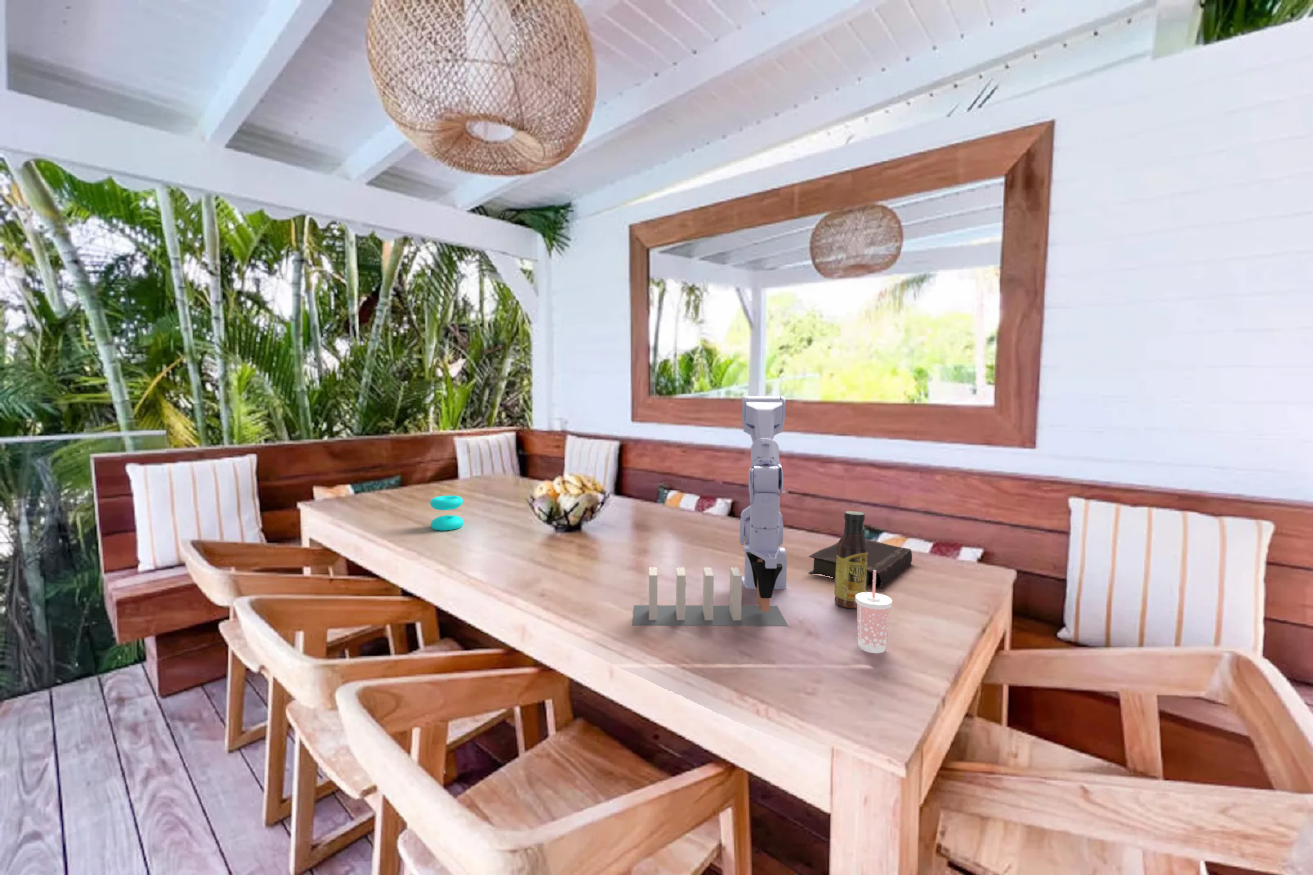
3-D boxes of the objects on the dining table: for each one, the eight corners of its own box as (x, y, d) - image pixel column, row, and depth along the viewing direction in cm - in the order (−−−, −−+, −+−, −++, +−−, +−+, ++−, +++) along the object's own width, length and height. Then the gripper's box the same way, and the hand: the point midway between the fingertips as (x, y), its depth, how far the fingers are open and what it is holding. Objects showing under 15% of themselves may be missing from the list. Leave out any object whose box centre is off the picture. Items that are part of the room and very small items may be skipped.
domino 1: (656, 610, 116) (657, 567, 116) (657, 620, 111) (657, 575, 111) (649, 610, 116) (649, 567, 116) (648, 620, 111) (649, 575, 111)
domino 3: (710, 610, 116) (711, 567, 116) (713, 620, 111) (713, 575, 111) (702, 610, 116) (703, 567, 116) (704, 620, 111) (705, 575, 111)
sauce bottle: (849, 612, 117) (853, 517, 115) (827, 602, 122) (830, 511, 120) (872, 606, 120) (876, 514, 118) (849, 597, 125) (853, 508, 124)
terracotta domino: (761, 611, 111) (762, 566, 110) (756, 602, 116) (757, 559, 115) (769, 611, 111) (770, 566, 110) (764, 601, 116) (765, 559, 115)
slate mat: (777, 607, 119) (777, 605, 119) (788, 627, 109) (788, 625, 109) (634, 607, 119) (634, 605, 119) (632, 627, 109) (632, 625, 109)
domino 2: (683, 610, 116) (684, 567, 116) (685, 620, 111) (685, 575, 111) (675, 610, 116) (676, 567, 116) (676, 620, 111) (677, 575, 111)
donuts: (445, 493, 190) (469, 495, 186) (445, 523, 191) (470, 525, 187) (423, 499, 181) (448, 501, 177) (424, 530, 181) (449, 533, 178)
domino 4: (737, 610, 116) (738, 567, 116) (741, 620, 111) (741, 575, 111) (729, 610, 116) (730, 567, 116) (732, 620, 111) (733, 575, 111)
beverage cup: (897, 652, 99) (901, 574, 98) (867, 657, 97) (871, 577, 96) (874, 637, 105) (877, 563, 104) (846, 641, 103) (849, 566, 102)
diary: (912, 567, 149) (913, 548, 148) (881, 593, 130) (882, 572, 129) (842, 552, 161) (843, 535, 160) (804, 574, 141) (805, 554, 141)
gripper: (738, 517, 119) (737, 580, 121) (750, 535, 105) (749, 606, 106) (772, 517, 120) (770, 580, 121) (788, 535, 105) (786, 606, 106)
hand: (763, 592), depth 113 cm, fingers closed on terracotta domino, 5 cm apart
